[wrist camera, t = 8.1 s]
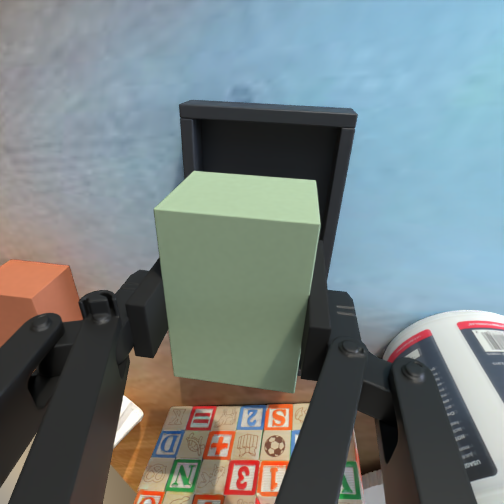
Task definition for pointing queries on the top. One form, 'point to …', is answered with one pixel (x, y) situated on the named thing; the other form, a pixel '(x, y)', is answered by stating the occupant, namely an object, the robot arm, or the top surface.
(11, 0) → the top surface
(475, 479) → the supplement tub
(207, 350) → the pale green rectangular block
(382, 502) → the plastic lid
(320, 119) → the backing tray
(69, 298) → the terracotta rectangular block
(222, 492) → the stack of blocks
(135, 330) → the robot arm
